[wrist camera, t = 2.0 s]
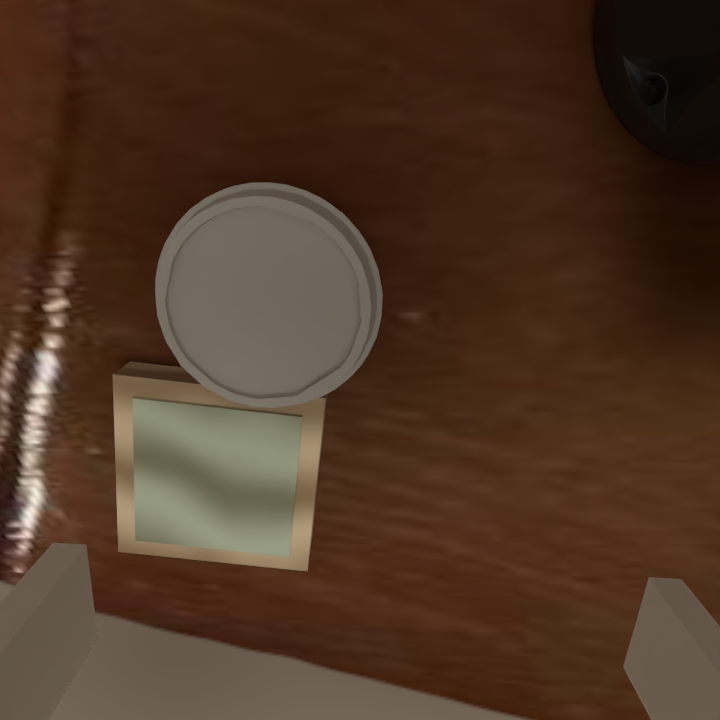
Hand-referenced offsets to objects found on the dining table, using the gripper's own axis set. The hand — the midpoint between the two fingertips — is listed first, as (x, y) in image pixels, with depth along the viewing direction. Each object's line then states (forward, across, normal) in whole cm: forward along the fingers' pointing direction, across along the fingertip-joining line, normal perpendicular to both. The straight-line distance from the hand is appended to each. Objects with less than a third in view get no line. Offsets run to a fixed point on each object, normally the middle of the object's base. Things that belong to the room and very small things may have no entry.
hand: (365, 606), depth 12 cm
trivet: (+22, -9, -9) cm, 26 cm away
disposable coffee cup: (+23, -4, +5) cm, 23 cm away
